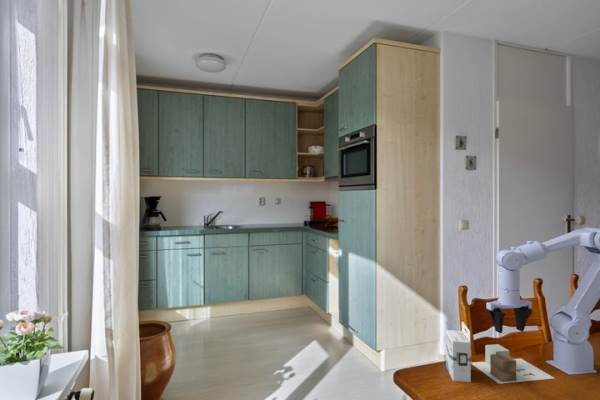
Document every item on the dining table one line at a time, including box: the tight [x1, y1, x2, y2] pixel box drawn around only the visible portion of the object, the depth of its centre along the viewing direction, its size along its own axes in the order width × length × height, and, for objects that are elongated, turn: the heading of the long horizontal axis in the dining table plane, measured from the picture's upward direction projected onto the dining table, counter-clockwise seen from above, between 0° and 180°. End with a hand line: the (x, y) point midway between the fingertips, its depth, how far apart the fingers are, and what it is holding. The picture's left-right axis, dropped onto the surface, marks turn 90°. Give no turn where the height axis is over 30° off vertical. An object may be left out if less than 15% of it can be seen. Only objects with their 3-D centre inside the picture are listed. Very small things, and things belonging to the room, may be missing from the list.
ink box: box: [445, 321, 472, 383], centre depth 97 cm, size 9×5×15 cm, turn 168°
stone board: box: [471, 357, 555, 385], centre depth 99 cm, size 18×12×1 cm, turn 99°
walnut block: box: [490, 353, 516, 381], centre depth 95 cm, size 4×4×6 cm
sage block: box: [484, 343, 510, 365], centre depth 101 cm, size 4×4×6 cm
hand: (509, 331), depth 104 cm, fingers open, 7 cm apart
